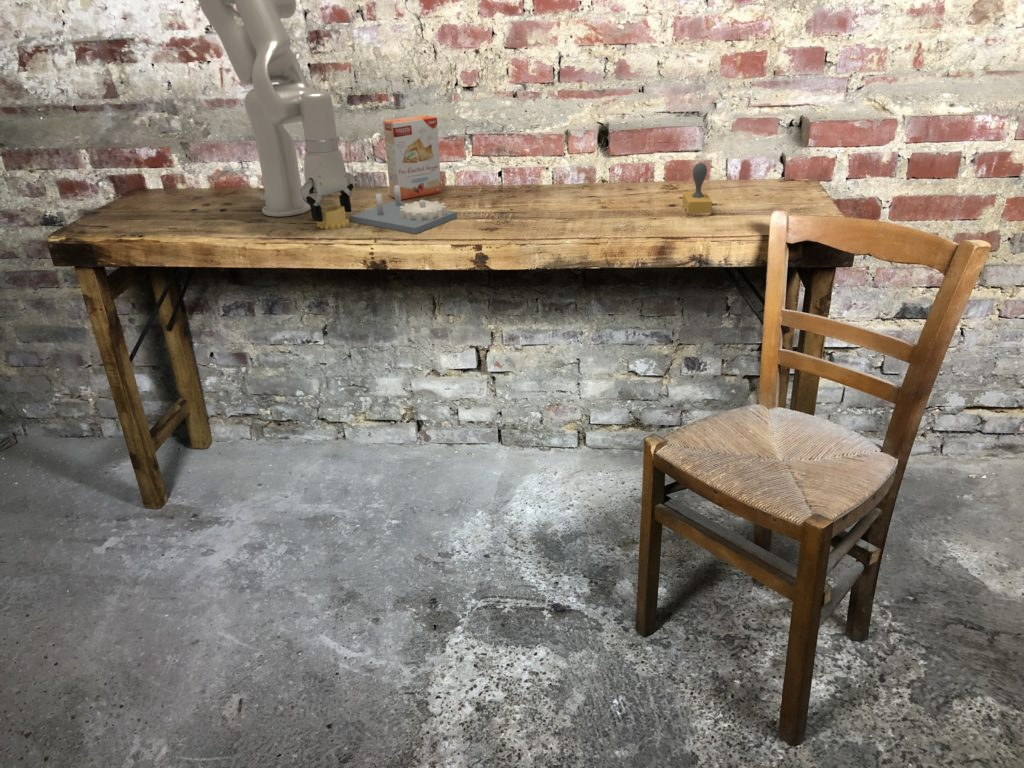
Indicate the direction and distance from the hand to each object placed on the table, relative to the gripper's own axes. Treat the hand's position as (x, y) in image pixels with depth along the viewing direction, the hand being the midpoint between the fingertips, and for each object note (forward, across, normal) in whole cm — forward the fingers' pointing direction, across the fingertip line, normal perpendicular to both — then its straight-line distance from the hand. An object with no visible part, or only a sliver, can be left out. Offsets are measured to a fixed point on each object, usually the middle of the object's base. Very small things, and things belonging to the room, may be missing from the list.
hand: (332, 216), depth 191 cm
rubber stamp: (+3, -55, +74) cm, 92 cm away
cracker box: (+2, -33, -1) cm, 33 cm away
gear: (+2, 0, 0) cm, 2 cm away
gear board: (+2, -12, +13) cm, 18 cm away
